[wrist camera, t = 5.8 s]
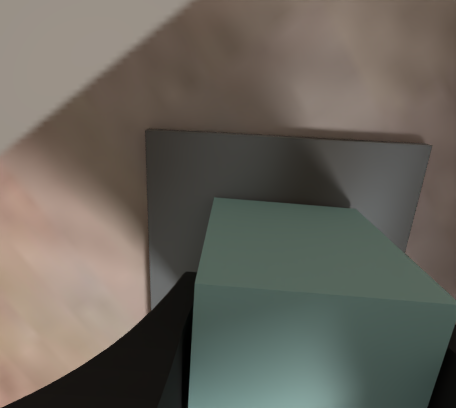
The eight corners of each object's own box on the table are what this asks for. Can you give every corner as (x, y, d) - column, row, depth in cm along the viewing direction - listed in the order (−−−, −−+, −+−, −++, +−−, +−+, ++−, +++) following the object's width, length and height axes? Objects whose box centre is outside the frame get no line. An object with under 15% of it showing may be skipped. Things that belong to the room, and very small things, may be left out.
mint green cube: (355, 208, 12) (461, 304, 6) (331, 328, 14) (399, 490, 8) (214, 197, 12) (194, 283, 6) (206, 317, 14) (184, 473, 8)
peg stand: (426, 143, 12) (567, 186, 7) (371, 361, 15) (439, 498, 10) (148, 128, 12) (84, 160, 7) (154, 349, 15) (114, 481, 10)
